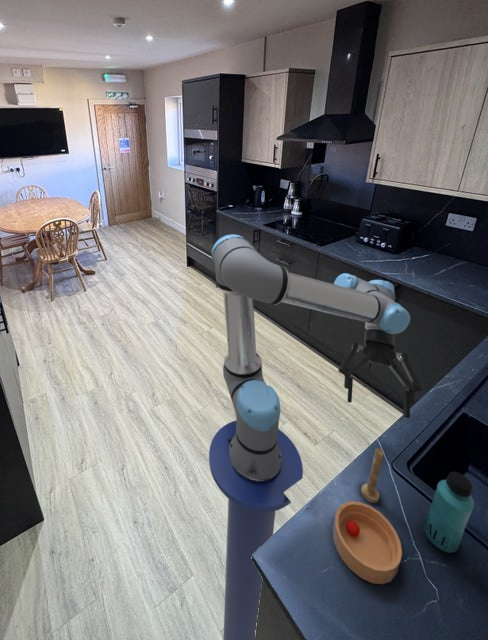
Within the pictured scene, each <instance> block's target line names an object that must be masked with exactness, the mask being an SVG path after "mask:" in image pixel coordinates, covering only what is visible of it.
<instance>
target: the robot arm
mask: <svg viewBox="0 0 488 640" xmlns="http://www.w3.org/2000/svg"><path fill="white" fill-rule="evenodd" d="M211 260H212V263H213V264H214V269H215V279H216V287H217V288H218V289H220V290H221V291H222V297H223V298H222V299H223V308H224V309H223V310H224V317H225V318H224V320H225V331H226V341H227V354H226V355H225V356H224V361H223V365H222V374H223V379H224V381H225V383H226V387H227V390H228V393H229V397H230V400H231V403H232V406H233V410H234V413H235V417H236V420H235V421H236V433H235V435H234V437H233V438H228V441H231V443H230V446H229V459H230V463H231V465H232V467H233V469H234V470H235V472H236V473H237V474H238V475H239V476H240V477H242V478H243V479H245V480H247V481H249V482H252V483H257V484H263V483H268V482H270V481H272V480H274V479H275V478H276V477H277V476H278V474H279V472H280V469H281V463H282V456H281V452H280V449H279V446H278V443H277V435H278V429H279V425H280V418H281V401H280V398H279V394H278V393H277V392H276V390H275V389H274V388H273V387H272V386H271V385H267V383H266V381H265V379H264V375H263V363H262V357H261V356H260V354H259V353H258V352H257V343H256V325H255V324H256V323H255V310H254V309H255V307H254V301H258V302H262V303H266V304H271V305H274V306H277V305H279V304H281V303H284V304H288V305H293V306H297V307H301V308H306V309H309V310H314V311H319V312H322V313H326V314H331V315H334V316H339V317H343V318H348V319H351V320H355V321H356V320H357V321H359V322H364V323H365V324H364V329H365V331H364V343H363V345H362V344H358V342H353V343H352V344H351V349H350V352H349V353H348V355H347V356H346V358H345V359H344V361H343V362H342V364H341V365H340V366H339V368H338V369H337V371H338V373H339V374H341V375H343V377H344V379H343V380H344V382H343V387H344V389H347V399H346V401H347V403H351V404H352V401H353V385H354V383H353V382H354V377H353V376H352V375H353V374H354V373H355V372H356V371H358V370H359V369H360V368H361V367H362V366H364V365H365V364H366V363H367V362H370V363H371V364H374V365H380V366H383V367H385V366H387V367H388V368H389V369H390V371H391V372H392V373H393V374H394V375H395V377H396V378H397V379H398V381H399V382H400V383H401V384H402V386H403V387H404V388H405V390H403V418H406V419H410V418H411V406H414V405H415V392H423V387H422V385H421V382H420V381H419V379H418V376H417V375H416V373H415V371H414V369H413V367H412V365H411V363H410V361H409V355H408V353H407V352H396V350H395V335H397V334H400V333H402V332H404V331H405V330H406V329H407V328H408V326H409V324H410V321H411V315H410V313H409V312H408V310H407V309H405V308H404V307H403V306H402V305H401V304H400V303H398V302H396V301H395V300H396V294H395V286H394V285H393V283H391V282H390V281H388V280H383V279H372V280H369V281H366V280H364V279H362V278H359V277H358V276H357V275H352V274H350V273H346V272H345V273H344V272H343V273H341V274H339V275H338V276H337V277H336V278H335V280H334V282H333V283H331V282H327V281H323V280H319V279H315V278H312V277H309V276H305V275H300V274H296V273H293V272H290V271H288V269H287V268H286V267H285V266H283V265H280V264H275V263H273V262H271V261H269V260H268V259H266V258H265V257H263V256H262V255H261V254H260V252H259V251H257V249H256V248H255V247H254V246H253V245H252V244H251V242H250V240H248V239H246V238H245V237H244V236H242V235H239V234H227V235H223V236H222V237H220V238H219V239H217V241H216V242H215V243H214V245H213V246H212V248H211ZM361 350H362V352H363V354H364V355H365V356H364V357H363V358H361V360H359V361H358V362H356V364H354V365H353V366H351V367H350V368H349V369H348V370H346V368H347V367H348V365H349V364H350V363H351V361H352V360H353V358H354V356H355V355H356V353H359V352H360V351H361ZM395 358H397V360H398V362H401V365H402V367H403V369H404V372H405V373H406V376H407V377H408V379H409V380H408V379H407V377H406V376H405V375H404V374H403V372H402V371H401V369H400V368H399V367H398V366H397V364H396V362H395V361H394V359H395Z"/></svg>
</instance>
